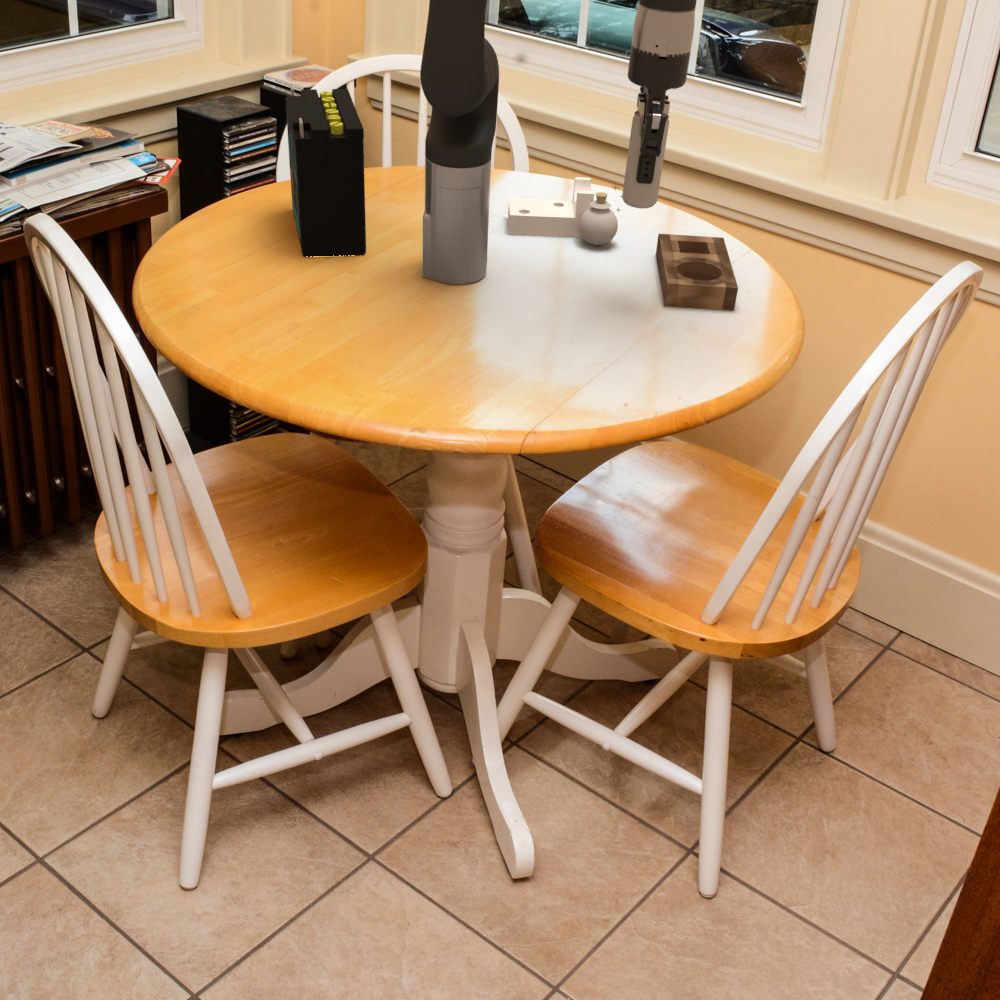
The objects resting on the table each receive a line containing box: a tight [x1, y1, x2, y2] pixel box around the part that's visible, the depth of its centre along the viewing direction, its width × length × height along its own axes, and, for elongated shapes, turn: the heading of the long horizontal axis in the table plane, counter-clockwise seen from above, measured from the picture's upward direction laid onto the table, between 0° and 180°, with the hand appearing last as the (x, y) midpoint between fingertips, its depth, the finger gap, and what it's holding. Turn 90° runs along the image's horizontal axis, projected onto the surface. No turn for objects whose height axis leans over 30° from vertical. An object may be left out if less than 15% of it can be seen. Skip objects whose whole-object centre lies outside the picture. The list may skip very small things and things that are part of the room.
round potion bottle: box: [579, 183, 622, 246], centre depth 174 cm, size 6×7×10 cm
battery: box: [284, 84, 367, 258], centre depth 170 cm, size 19×10×20 cm, turn 13°
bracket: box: [507, 176, 595, 239], centre depth 179 cm, size 13×7×8 cm, turn 91°
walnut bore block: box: [655, 233, 739, 312], centre depth 166 cm, size 10×18×4 cm, turn 178°
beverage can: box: [621, 110, 670, 209], centre depth 150 cm, size 5×5×12 cm
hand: (642, 175), depth 151 cm, fingers closed on beverage can, 4 cm apart
